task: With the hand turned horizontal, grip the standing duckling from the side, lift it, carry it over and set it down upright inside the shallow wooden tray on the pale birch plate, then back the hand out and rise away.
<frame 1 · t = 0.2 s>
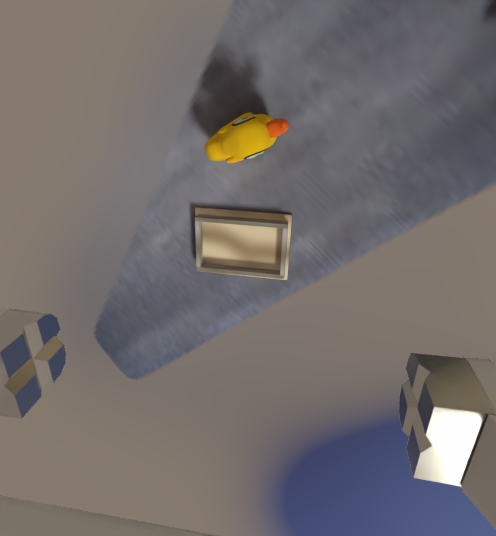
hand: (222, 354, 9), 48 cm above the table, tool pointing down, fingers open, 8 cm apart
duckling: (252, 134, 53), on the table
shallow wooden tray: (242, 243, 60), on the table
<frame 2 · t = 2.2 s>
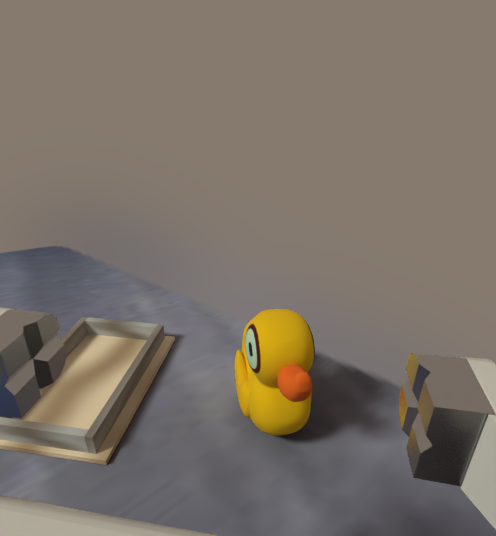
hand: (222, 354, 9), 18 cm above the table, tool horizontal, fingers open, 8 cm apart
duckling: (272, 417, 31), on the table
shallow wooden tray: (90, 383, 34), on the table
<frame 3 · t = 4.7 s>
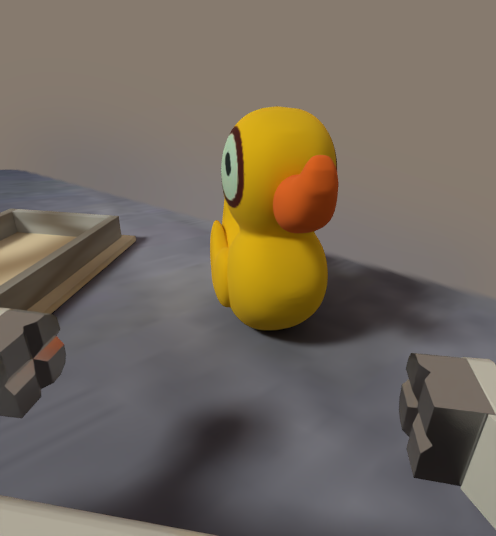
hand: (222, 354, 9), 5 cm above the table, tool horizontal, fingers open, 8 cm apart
duckling: (265, 318, 20), on the table
shallow wooden tray: (2, 278, 23), on the table
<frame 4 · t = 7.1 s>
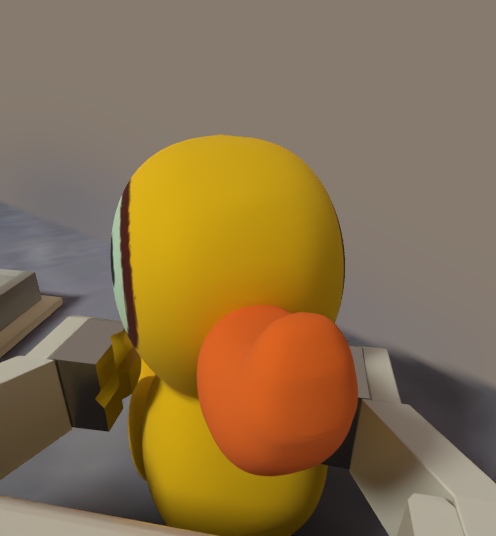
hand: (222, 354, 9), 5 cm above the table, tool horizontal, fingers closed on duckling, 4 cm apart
duckling: (227, 472, 12), on the table, touching gripper
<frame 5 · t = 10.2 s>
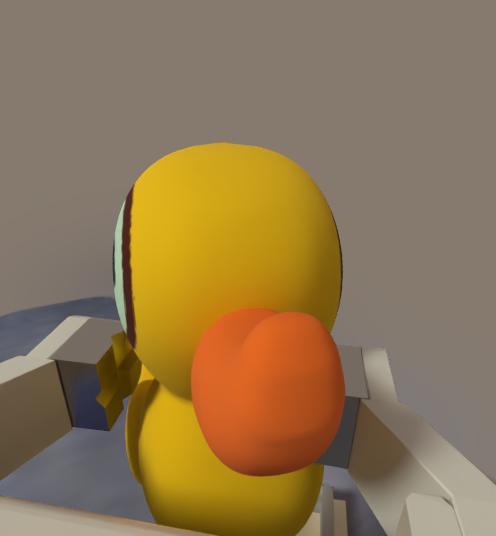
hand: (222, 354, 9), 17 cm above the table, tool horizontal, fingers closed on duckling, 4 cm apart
duckling: (224, 480, 12), point 12 cm above the table, touching gripper
when the fingers open (6 cm above the table, at t = 13.1 s): duckling moves 1 cm, point 1 cm above the table.
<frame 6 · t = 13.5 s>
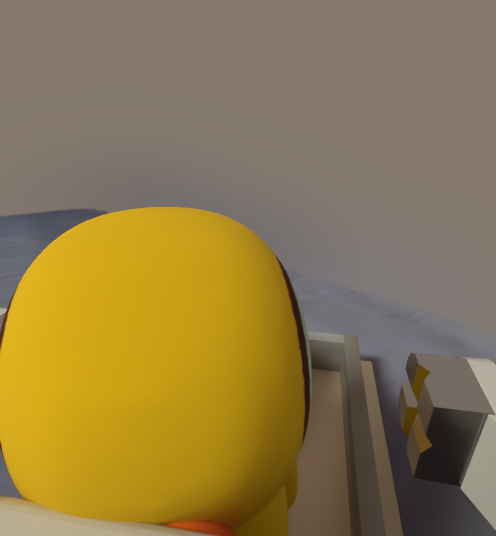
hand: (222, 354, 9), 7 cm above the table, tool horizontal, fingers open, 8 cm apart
duckling: (194, 504, 12), point 1 cm above the table
shallow wooden tray: (232, 493, 13), on the table
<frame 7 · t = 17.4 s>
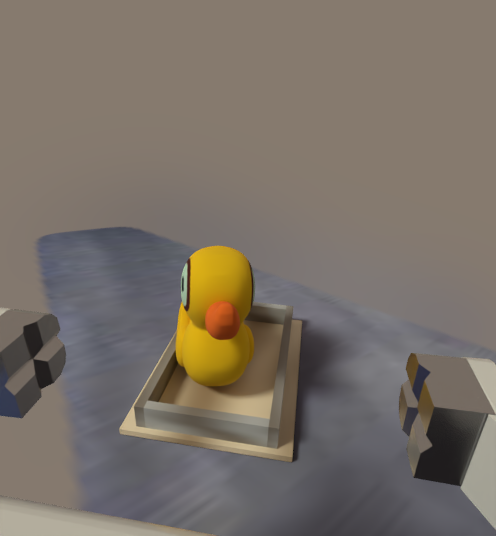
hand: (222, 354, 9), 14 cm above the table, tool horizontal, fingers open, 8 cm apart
duckling: (212, 373, 28), resting on shallow wooden tray
shallow wooden tray: (228, 368, 29), on the table
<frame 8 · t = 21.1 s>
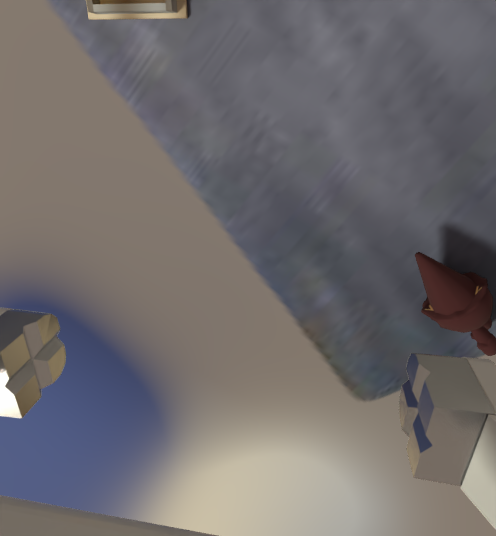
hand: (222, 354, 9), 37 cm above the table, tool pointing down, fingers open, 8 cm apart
gnome figurine: (446, 285, 46), on the table
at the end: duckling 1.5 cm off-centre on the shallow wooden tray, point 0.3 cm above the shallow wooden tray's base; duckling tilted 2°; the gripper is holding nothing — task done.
